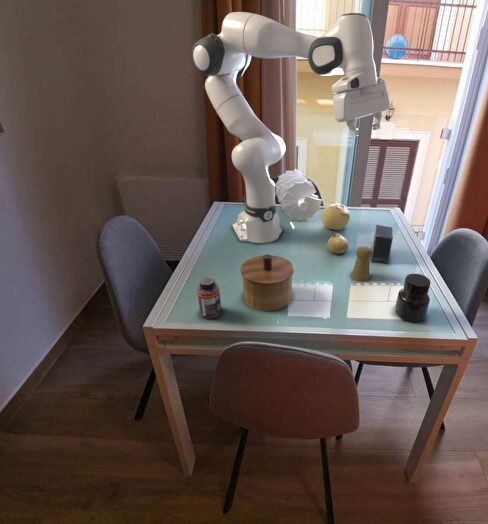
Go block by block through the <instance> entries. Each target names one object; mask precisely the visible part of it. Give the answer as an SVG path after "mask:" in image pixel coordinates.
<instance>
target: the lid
mask: <svg viewBox="0 0 488 524" xmlns="http://www.w3.org/2000/svg"><path fill="white" fill-rule="evenodd" d="M239 270H240V275H241V277H242V278H243V277H244V278H245V279H246V280H248V281H250V282H252V283H255V284H261V285H273V284H278V283H282V282H284V281H286V280H288V279H289V278H291V277H292V278H293V275H294V273H295V267H294V264H293V263H292V261H290V260H288V259H287V258H285V257H282V256H278V255H271V254H263V255H257V256H253V257H251V258H248V259H246V260H245V261H244V262H243V263H242V264H241V266H240V269H239Z"/></svg>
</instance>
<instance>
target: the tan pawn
mask: <svg viewBox="0 0 488 524" xmlns="http://www.w3.org/2000/svg"><path fill="white" fill-rule="evenodd" d="M355 254H356V259H355V262H354V266H353V270H352V273H351V278H353V279H354V280H356V281H358V282H366V281H368V280H369V279H370V268H371V267H370V265H371V264H370V263H371V256H372V248H370V247H369V246H366V245H361V246H359V247H358V248H356V250H355Z"/></svg>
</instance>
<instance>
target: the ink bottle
mask: <svg viewBox="0 0 488 524" xmlns="http://www.w3.org/2000/svg"><path fill="white" fill-rule="evenodd" d="M431 283H432V282H431V280H430V278H429V277H428V276H425V275H424V274H421V273H413V272H412V273H409V274H407V275H406V276H405V278H404V283H403V287H402V288H401V289H399V291H398V293H397V297H396V302H395V306H394V312H395V314H396V315H397V316H398V318H400V319H401V320H403V321H404V322H409V323H420V322H422V321H424V320H425V319H426V316H427V313H428V309H429V306H430V302H431V299H430V295H429V290H430V287H431Z"/></svg>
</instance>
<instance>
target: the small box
mask: <svg viewBox="0 0 488 524" xmlns="http://www.w3.org/2000/svg"><path fill="white" fill-rule="evenodd" d="M393 235H394V234H393V227H392V226H386V225H380V224H376V225H375V232H374V237H373V241H372V247H371V250H372V256H371V257H370V262H375V263H381V264H388V263H389V260H390V255H391V249H392V244H393V241H394V240H393V239H394V238H393V237H394V236H393Z"/></svg>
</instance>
